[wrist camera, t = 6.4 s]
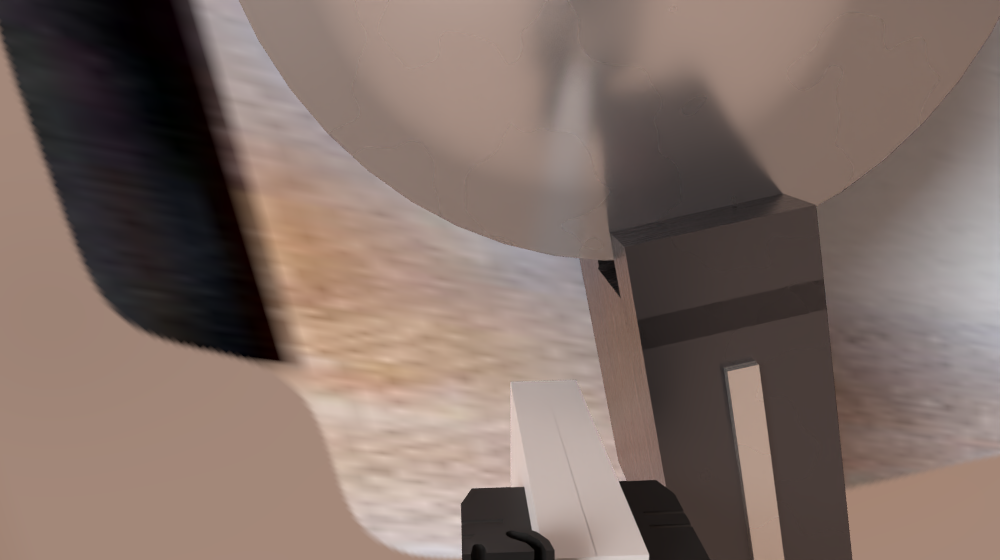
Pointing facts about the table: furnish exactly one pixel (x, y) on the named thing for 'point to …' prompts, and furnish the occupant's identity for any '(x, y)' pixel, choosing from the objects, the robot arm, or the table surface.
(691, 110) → the lid
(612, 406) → the pot
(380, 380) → the table surface
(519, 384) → the robot arm
